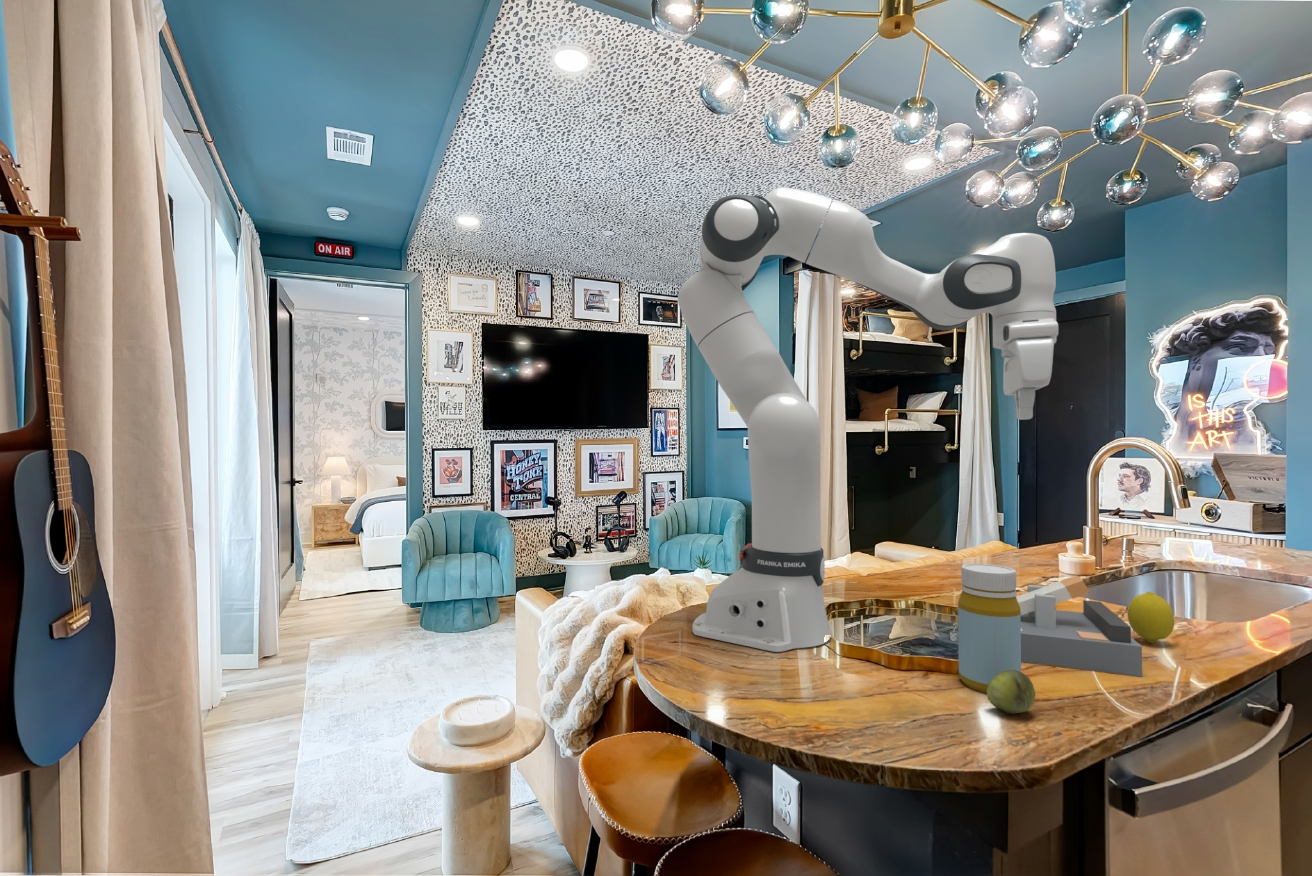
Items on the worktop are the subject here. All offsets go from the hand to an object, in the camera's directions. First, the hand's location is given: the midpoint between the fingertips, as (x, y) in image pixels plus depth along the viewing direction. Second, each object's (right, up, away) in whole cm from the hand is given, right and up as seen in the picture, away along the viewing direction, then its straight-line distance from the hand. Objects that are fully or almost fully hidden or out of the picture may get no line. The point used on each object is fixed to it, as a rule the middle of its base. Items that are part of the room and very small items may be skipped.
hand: (1024, 419), depth 96 cm
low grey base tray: (-1, -35, -6) cm, 36 cm away
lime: (-19, -35, -28) cm, 49 cm away
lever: (-1, -28, -6) cm, 28 cm away
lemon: (+17, -35, -4) cm, 39 cm away
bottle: (-17, -35, -20) cm, 44 cm away
